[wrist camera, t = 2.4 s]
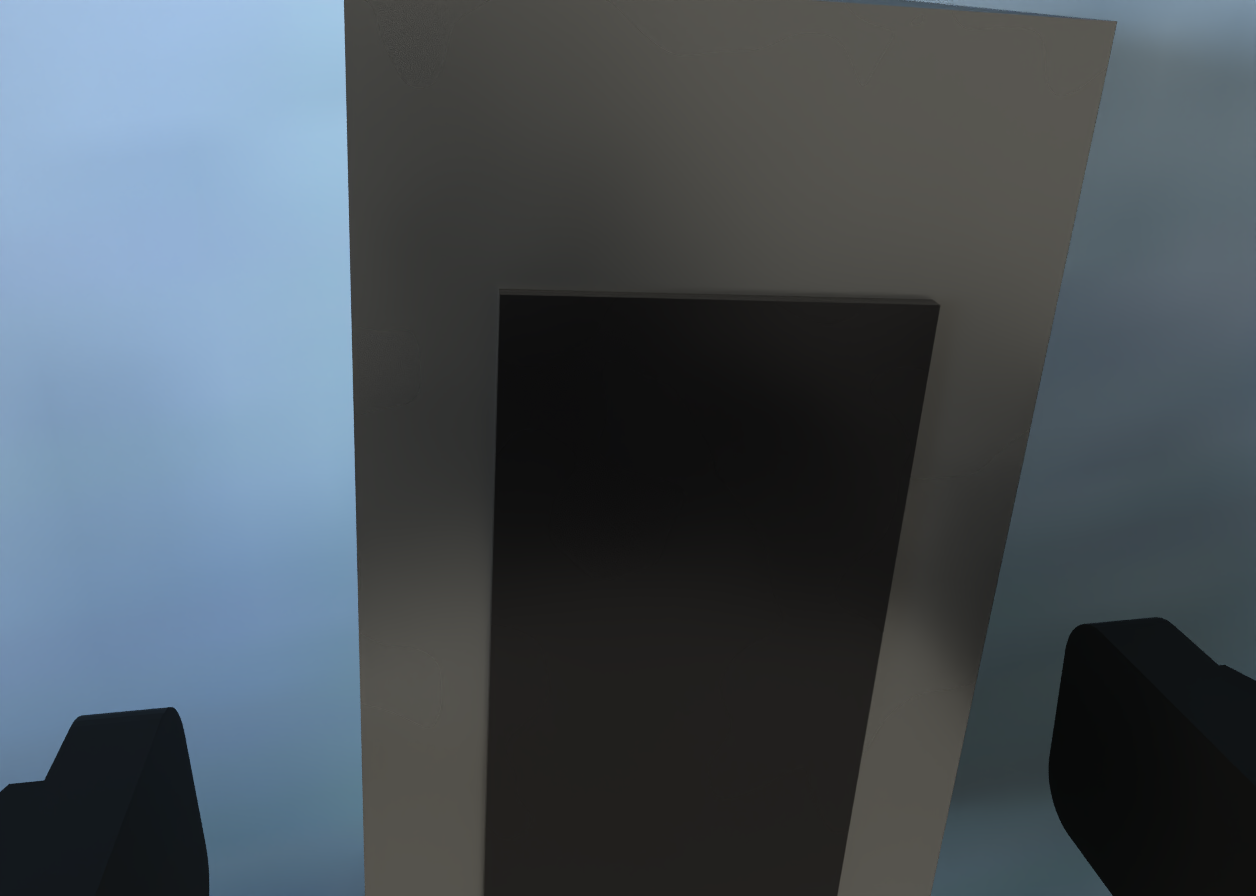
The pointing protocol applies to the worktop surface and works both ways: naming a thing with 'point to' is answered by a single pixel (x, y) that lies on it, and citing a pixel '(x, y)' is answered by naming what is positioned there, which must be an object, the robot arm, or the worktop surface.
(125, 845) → the robot arm
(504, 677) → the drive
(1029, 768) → the worktop surface
